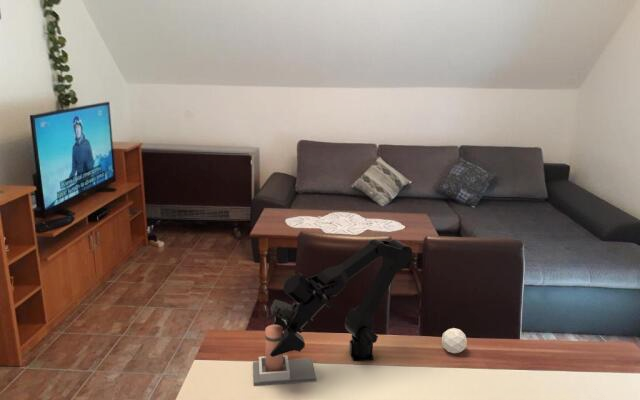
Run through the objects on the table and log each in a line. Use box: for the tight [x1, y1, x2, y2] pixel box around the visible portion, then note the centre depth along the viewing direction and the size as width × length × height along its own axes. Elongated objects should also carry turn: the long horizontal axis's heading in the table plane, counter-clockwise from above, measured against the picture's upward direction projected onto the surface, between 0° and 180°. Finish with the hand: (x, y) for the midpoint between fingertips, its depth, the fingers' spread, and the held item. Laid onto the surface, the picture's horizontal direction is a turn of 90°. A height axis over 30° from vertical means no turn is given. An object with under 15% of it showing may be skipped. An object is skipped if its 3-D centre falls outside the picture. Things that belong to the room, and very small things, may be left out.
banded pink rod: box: [264, 324, 284, 372], centre depth 147 cm, size 5×5×14 cm
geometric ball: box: [441, 327, 468, 354], centre depth 162 cm, size 8×8×8 cm
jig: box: [252, 354, 317, 387], centre depth 149 cm, size 18×10×4 cm, turn 98°
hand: (269, 346), depth 146 cm, fingers open, 9 cm apart
